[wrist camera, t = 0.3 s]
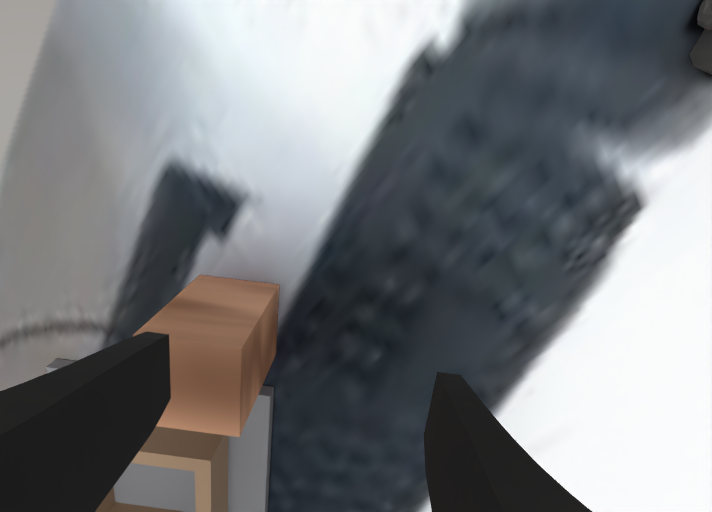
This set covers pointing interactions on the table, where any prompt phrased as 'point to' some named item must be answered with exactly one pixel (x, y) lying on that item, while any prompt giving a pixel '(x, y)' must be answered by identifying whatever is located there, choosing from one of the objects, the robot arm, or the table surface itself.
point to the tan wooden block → (217, 351)
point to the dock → (198, 467)
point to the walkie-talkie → (704, 39)
